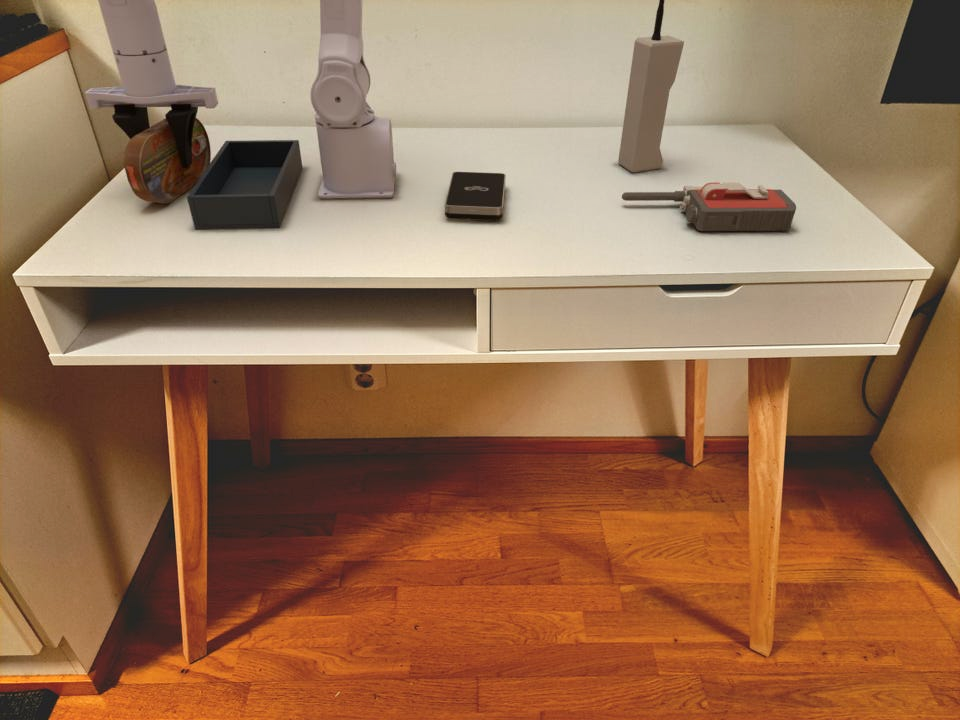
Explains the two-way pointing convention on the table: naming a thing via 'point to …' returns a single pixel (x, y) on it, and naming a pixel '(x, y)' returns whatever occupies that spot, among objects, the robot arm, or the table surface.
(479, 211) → the external hard drive
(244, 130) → the table surface
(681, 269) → the table surface
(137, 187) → the tin
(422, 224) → the table surface
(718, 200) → the walkie-talkie
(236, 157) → the bin
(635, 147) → the vintage mobile phone
